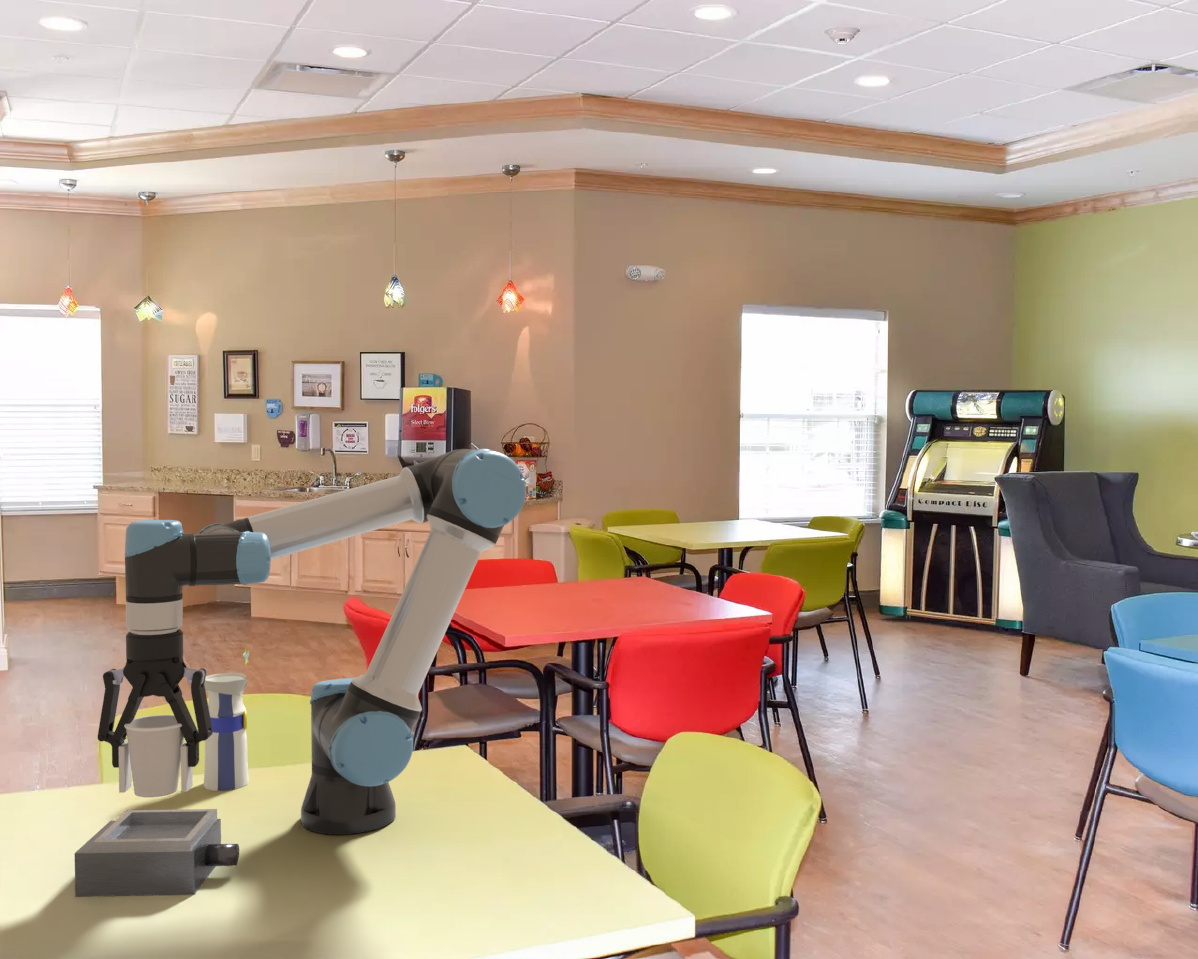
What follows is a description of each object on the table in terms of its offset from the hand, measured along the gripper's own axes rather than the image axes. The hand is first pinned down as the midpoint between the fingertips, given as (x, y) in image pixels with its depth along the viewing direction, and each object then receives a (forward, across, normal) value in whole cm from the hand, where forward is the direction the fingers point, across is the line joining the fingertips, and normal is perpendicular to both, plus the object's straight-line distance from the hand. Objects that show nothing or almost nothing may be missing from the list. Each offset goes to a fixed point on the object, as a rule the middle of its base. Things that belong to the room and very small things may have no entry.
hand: (156, 789), depth 162 cm
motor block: (+13, -1, 0) cm, 13 cm away
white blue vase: (+13, +2, -43) cm, 45 cm away
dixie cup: (+1, 0, 0) cm, 1 cm away
